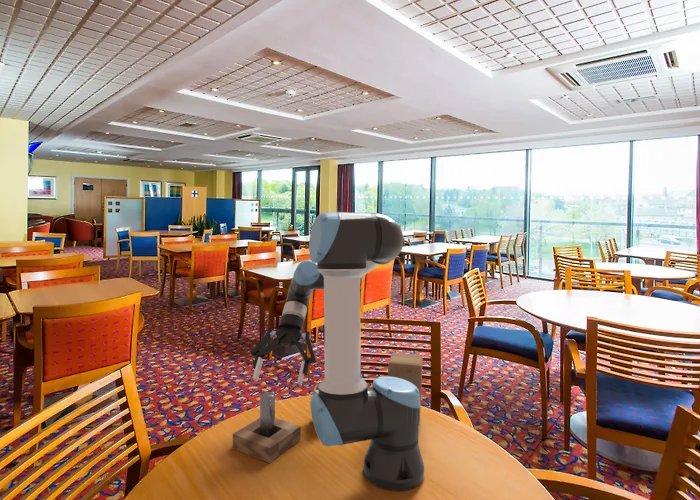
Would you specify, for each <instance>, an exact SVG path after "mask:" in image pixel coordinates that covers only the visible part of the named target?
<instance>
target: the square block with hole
mask: <svg viewBox="0 0 700 500" xmlns="http://www.w3.org/2000/svg"><path fill="white" fill-rule="evenodd" d="M299 441H301V425H297V424H295V423H293V422H289V421H286V420H284V419H279V418H278V417H275V434H274V435H272V436H271V437H270V438H267V437H264V436H262V435H260V417H259V418H257V419H255V420H253V421H252V422H250V423H248V424H247V425H245V426H244V427H242V428H240V429H239V430H237V431H235V432H234V433H233V434H232V449H234V448H235V450H237V449H238V450H237V451H239V450H240V452H241V453H244V452H245V453H244V454H247V455H249V456H252V457H254V458H256V459H259V460H262V461H264V462H267V463H268V464H271V463H272V462H274V461H275V460H276V459H277V458H279V457H280V456H281V455H283V454H284V453H285V452H286V451H288V450H290V448H292V447H293V446H294V445H295V444H297V443H298V442H299Z"/></svg>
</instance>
